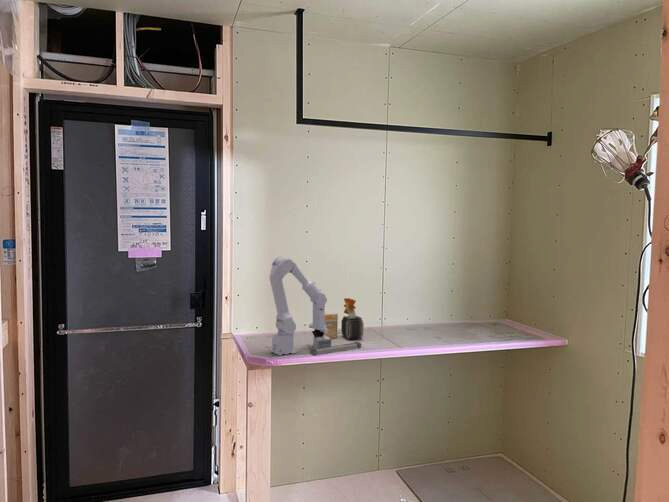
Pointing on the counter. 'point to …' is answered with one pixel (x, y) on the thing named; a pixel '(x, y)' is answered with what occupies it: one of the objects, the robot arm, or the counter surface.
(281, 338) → the robot arm
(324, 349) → the rail
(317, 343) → the block
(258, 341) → the counter surface
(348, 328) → the bomb
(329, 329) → the supplement box
